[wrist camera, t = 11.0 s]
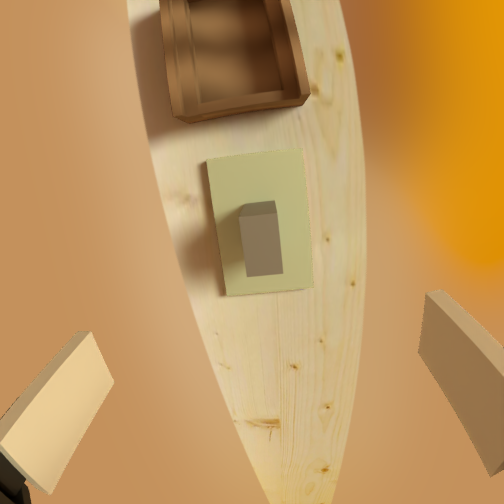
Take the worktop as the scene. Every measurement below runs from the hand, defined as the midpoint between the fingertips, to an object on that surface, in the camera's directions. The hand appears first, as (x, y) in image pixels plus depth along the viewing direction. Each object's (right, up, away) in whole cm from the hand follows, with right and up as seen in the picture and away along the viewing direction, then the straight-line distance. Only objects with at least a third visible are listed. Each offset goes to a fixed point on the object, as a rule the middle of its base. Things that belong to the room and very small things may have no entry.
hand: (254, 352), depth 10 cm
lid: (+1, +7, +22) cm, 23 cm away
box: (-2, +25, +16) cm, 30 cm away
